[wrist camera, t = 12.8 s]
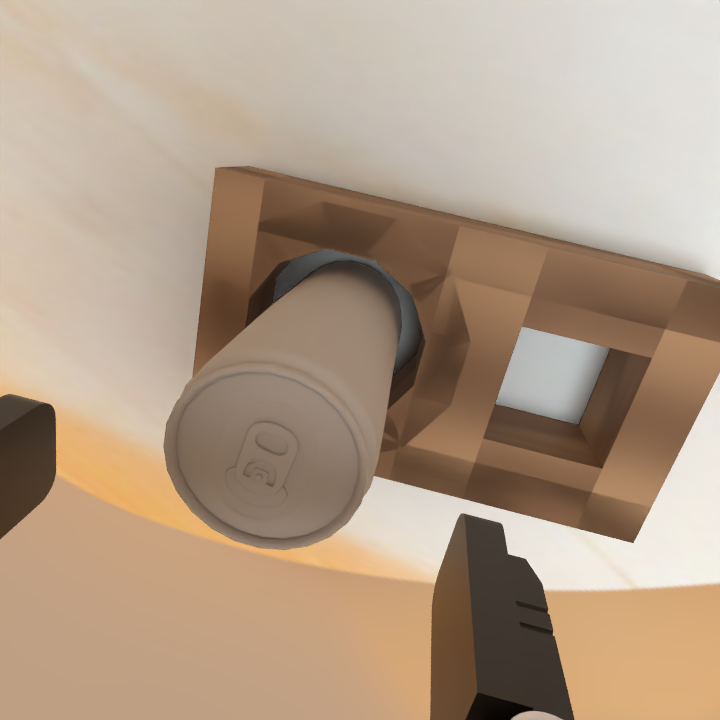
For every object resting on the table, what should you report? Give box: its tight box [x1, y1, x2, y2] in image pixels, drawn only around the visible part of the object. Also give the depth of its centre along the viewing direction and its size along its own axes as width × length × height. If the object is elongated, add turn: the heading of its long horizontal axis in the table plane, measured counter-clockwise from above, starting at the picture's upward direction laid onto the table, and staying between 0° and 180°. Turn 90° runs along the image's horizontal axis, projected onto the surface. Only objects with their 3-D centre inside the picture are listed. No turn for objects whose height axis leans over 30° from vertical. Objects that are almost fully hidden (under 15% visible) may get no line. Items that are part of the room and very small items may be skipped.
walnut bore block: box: [193, 166, 720, 543], centre depth 21 cm, size 10×18×4 cm, turn 78°
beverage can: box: [164, 261, 402, 550], centre depth 17 cm, size 5×5×12 cm
